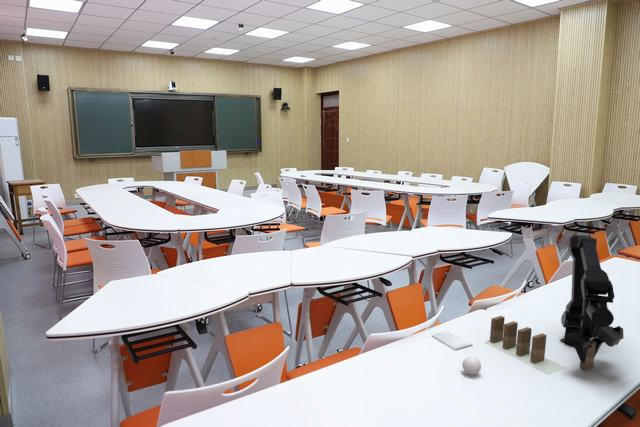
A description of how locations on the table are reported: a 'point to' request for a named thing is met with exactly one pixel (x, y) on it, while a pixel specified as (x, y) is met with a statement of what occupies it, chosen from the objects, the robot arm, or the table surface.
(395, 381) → the table surface
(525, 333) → the domino
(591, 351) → the domino
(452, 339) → the hard drive
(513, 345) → the domino
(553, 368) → the mat
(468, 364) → the white sphere
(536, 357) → the domino
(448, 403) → the table surface
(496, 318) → the domino
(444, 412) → the table surface
